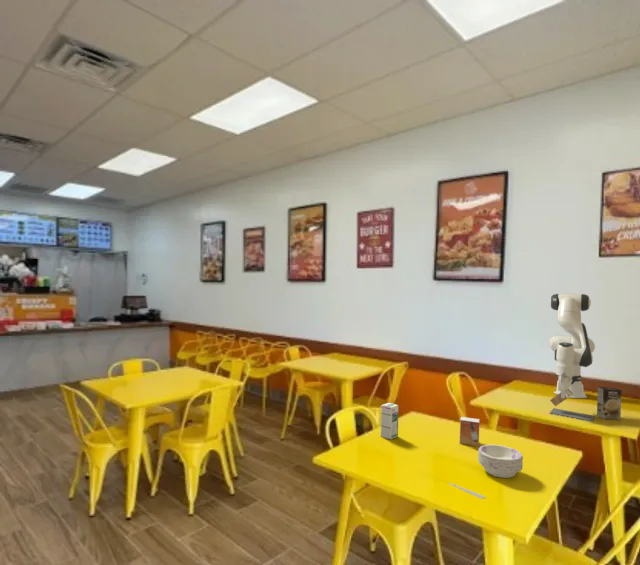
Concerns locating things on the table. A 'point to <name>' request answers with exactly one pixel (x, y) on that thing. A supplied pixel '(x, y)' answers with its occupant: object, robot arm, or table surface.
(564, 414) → the mat
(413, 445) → the table surface
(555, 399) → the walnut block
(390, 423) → the syrup box
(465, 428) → the small box
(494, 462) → the paper bowls
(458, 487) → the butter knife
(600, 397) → the coffee box
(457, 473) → the table surface
